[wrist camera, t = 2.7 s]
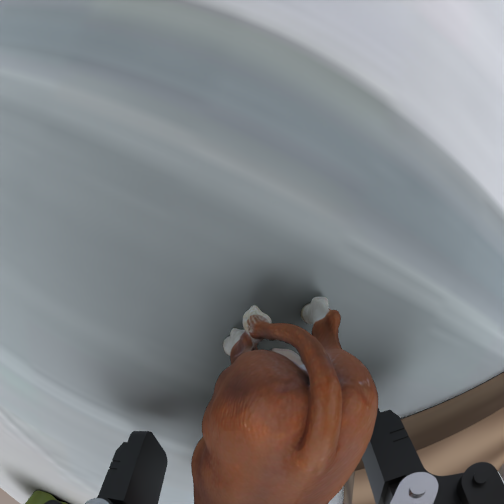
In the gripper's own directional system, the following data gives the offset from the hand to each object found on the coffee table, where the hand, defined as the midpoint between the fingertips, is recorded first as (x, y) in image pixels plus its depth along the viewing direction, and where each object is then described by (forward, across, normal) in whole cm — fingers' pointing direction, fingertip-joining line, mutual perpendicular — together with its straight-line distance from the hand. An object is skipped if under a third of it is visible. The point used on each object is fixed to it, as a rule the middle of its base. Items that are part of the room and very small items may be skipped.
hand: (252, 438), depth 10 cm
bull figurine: (+2, 0, 0) cm, 2 cm away
